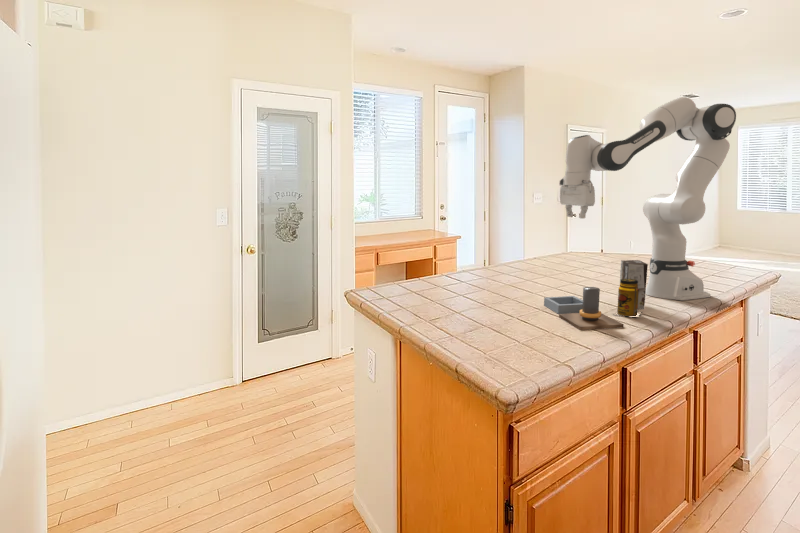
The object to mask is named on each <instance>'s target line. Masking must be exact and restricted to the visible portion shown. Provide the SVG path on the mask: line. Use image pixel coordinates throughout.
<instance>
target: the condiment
mask: <svg viewBox="0 0 800 533" xmlns="http://www.w3.org/2000/svg"><path fill="white" fill-rule="evenodd" d="M617 294H618V296H617V308H616V309H617V311H616V312H615V313H614V314H613V315H614V316H619V315H621V316H619V317H623V316H636V315H637V312H638V310H639V309H638V295H639V289H638V280H635V279H621V281H620V280H619V287H618V293H617ZM640 312H641V313H642V314H643V313H644V312H643V311H640ZM616 313H617V314H618V315H616ZM642 314H640V316H641V315H642Z"/></svg>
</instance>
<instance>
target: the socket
mask: <svg viewBox="0 0 800 533" xmlns="http://www.w3.org/2000/svg"><path fill="white" fill-rule="evenodd" d="M543 306H544V307H546V308H548V309H550V310H551V311H552V312H554V313H556V314H557V315H559V314H569V313H580V310H581V309H582V307H583V299H581V298H579V297H577V296H575V295H568V296H567V295H566V296H550V297H549V296H548V297H544V299H543Z"/></svg>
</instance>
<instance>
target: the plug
mask: <svg viewBox="0 0 800 533" xmlns="http://www.w3.org/2000/svg"><path fill="white" fill-rule="evenodd" d="M582 289H583V290H582V300H583V307H582V309H581V310H580V316H582V319H583V320H586V321H597V320H598V318H600V317H601V313H602V311H601V310H600V294H601V293H600V292H601V290H600V289H601V288H599V287H596V286H584V287H582Z"/></svg>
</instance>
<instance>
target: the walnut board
mask: <svg viewBox="0 0 800 533" xmlns="http://www.w3.org/2000/svg"><path fill="white" fill-rule="evenodd" d="M558 317H559V318H560V319H561V320H562V321H564V322H566V323H568V324H570V325H571V326H573V327H574V328H576V329H578V330H579V331H585V330H586V331H587V330H588V331H589V330H600V329H601V330H602V329H603V330H604V328H606V329H618V328H617V327H622V328H624V326H625V325H624V323H622V322H620V321H618V320H616V319H614V318H612V317H610V316H608V315H606V314H604V313H602V312H601V317H600V318H598V320H597V321H586V320H583V319H582V316H580V313H567V314H558Z"/></svg>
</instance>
